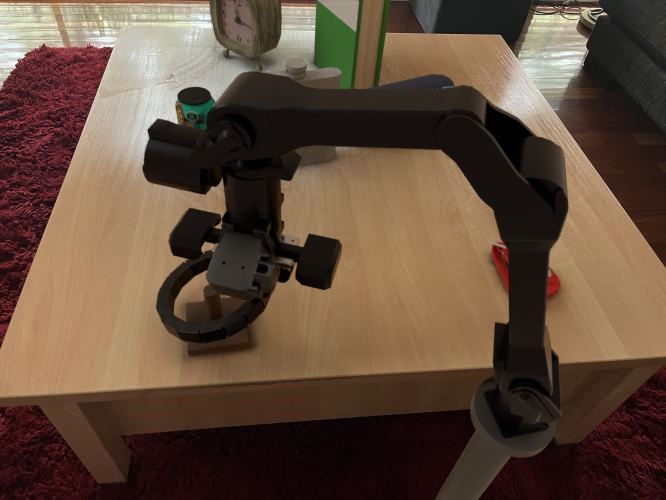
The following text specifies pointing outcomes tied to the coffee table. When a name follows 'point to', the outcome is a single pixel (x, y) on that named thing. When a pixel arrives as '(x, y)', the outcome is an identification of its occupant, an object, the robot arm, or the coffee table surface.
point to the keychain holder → (503, 269)
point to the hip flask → (314, 79)
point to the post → (213, 311)
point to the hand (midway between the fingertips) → (259, 293)
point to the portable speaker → (421, 83)
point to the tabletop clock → (247, 26)
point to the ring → (207, 329)
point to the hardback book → (351, 39)
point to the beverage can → (193, 107)
